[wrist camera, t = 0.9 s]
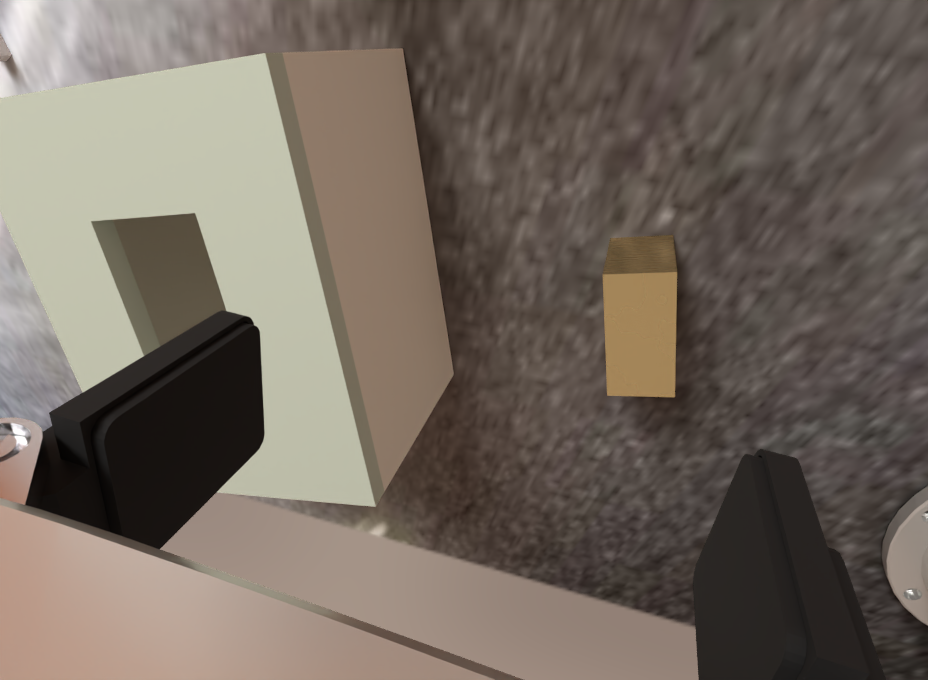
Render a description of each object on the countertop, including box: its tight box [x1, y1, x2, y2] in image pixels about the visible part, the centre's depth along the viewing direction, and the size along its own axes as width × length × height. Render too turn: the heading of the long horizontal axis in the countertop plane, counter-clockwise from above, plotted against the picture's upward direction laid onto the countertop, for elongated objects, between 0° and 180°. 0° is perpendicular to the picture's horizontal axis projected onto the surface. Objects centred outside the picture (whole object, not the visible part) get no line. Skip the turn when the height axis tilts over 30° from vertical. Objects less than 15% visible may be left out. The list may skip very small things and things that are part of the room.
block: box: [603, 235, 677, 397], centre depth 29 cm, size 6×3×6 cm, turn 7°
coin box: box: [0, 48, 454, 507], centre depth 30 cm, size 18×14×12 cm
